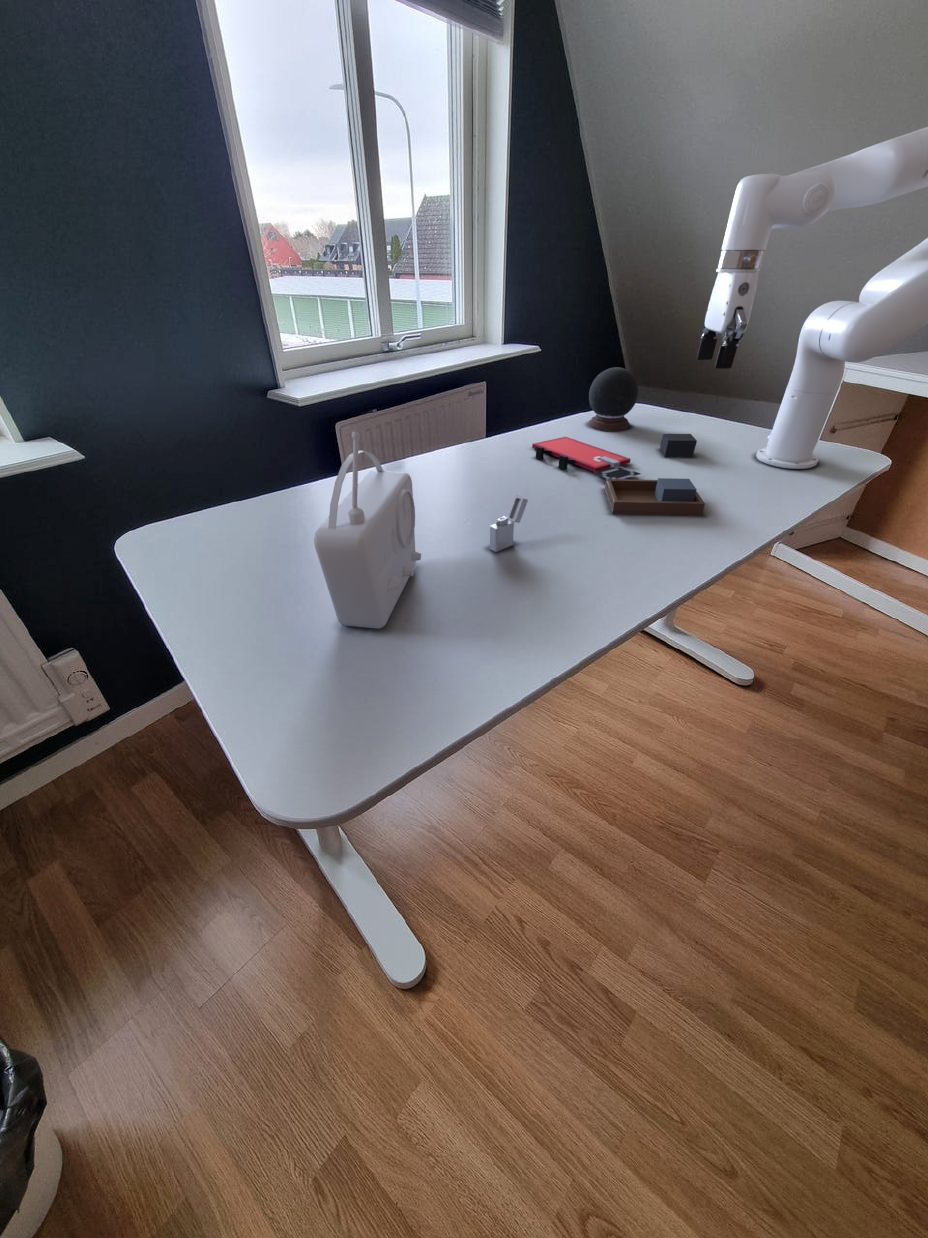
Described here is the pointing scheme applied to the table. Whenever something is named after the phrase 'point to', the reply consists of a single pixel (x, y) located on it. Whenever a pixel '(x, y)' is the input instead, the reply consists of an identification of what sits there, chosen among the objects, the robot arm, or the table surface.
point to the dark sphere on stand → (612, 399)
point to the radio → (368, 543)
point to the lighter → (506, 526)
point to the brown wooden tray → (646, 499)
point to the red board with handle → (585, 457)
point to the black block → (678, 445)
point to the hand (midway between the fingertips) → (713, 363)
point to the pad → (675, 490)
